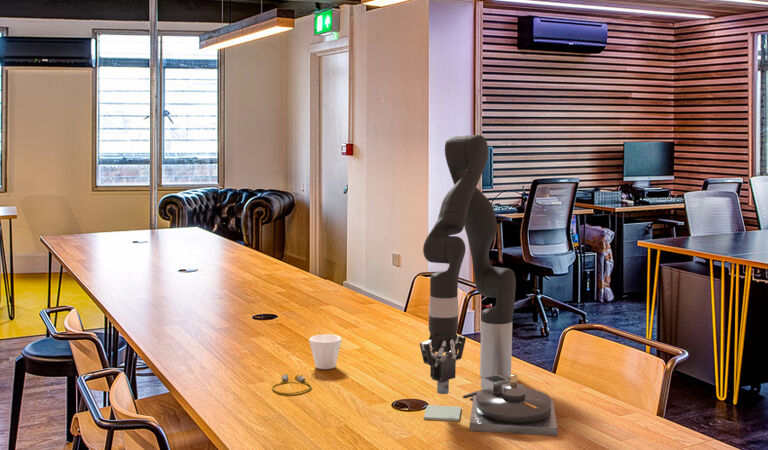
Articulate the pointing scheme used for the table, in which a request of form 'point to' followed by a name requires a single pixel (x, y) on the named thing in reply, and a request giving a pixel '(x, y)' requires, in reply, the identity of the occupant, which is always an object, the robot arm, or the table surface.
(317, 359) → the cup
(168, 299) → the table surface
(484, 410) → the chuck collar
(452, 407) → the mat
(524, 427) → the drill stand
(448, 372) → the block
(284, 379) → the olive earphones
